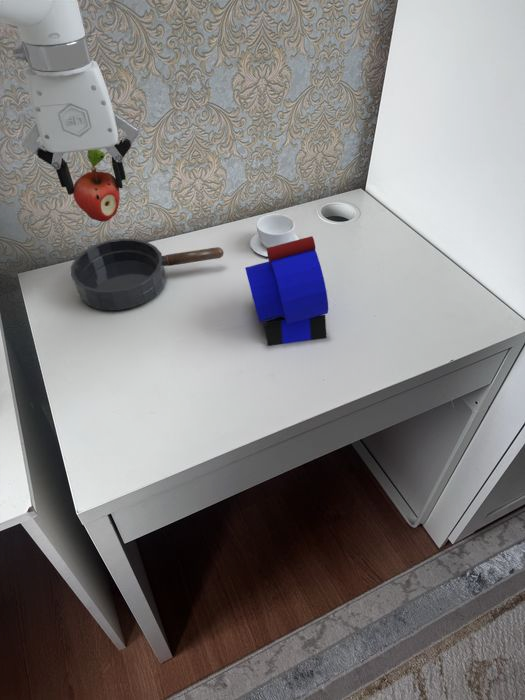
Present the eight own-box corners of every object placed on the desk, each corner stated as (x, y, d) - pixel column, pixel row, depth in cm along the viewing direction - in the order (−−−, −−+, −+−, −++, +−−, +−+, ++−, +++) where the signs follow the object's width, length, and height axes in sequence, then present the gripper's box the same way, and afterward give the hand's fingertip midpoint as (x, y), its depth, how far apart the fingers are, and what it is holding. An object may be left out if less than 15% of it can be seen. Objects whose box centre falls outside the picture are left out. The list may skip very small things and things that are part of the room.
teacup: (309, 250, 93) (311, 229, 90) (263, 264, 90) (263, 243, 87) (285, 226, 100) (286, 205, 96) (242, 238, 97) (241, 217, 93)
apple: (128, 224, 75) (113, 162, 68) (83, 232, 74) (63, 170, 66) (122, 201, 80) (107, 141, 73) (80, 208, 79) (61, 148, 72)
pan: (77, 319, 80) (69, 299, 77) (79, 265, 91) (71, 245, 88) (170, 304, 83) (166, 283, 80) (161, 253, 93) (157, 233, 90)
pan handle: (160, 269, 86) (158, 260, 84) (159, 263, 87) (157, 253, 85) (224, 259, 87) (223, 250, 86) (222, 253, 89) (221, 244, 87)
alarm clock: (330, 337, 77) (340, 259, 66) (254, 347, 75) (252, 270, 65) (311, 289, 85) (317, 214, 74) (243, 298, 84) (239, 222, 73)
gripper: (-19, 69, 57) (34, 207, 69) (130, 57, 59) (155, 191, 72) (-10, 51, 62) (38, 183, 75) (127, 41, 64) (150, 169, 77)
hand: (95, 186), depth 73 cm, fingers closed on apple, 6 cm apart
